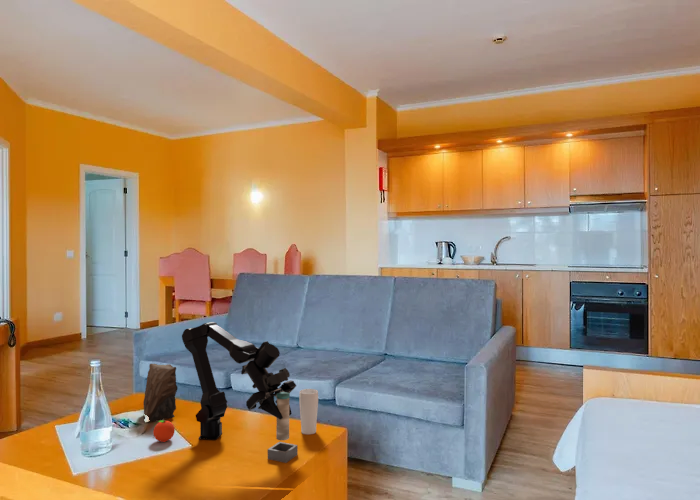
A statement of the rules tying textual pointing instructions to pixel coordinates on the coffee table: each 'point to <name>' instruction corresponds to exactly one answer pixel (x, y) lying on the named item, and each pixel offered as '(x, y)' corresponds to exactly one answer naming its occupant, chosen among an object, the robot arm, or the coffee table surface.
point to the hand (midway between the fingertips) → (286, 416)
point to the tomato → (163, 431)
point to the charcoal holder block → (282, 452)
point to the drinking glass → (308, 410)
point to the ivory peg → (283, 423)
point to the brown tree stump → (160, 392)
